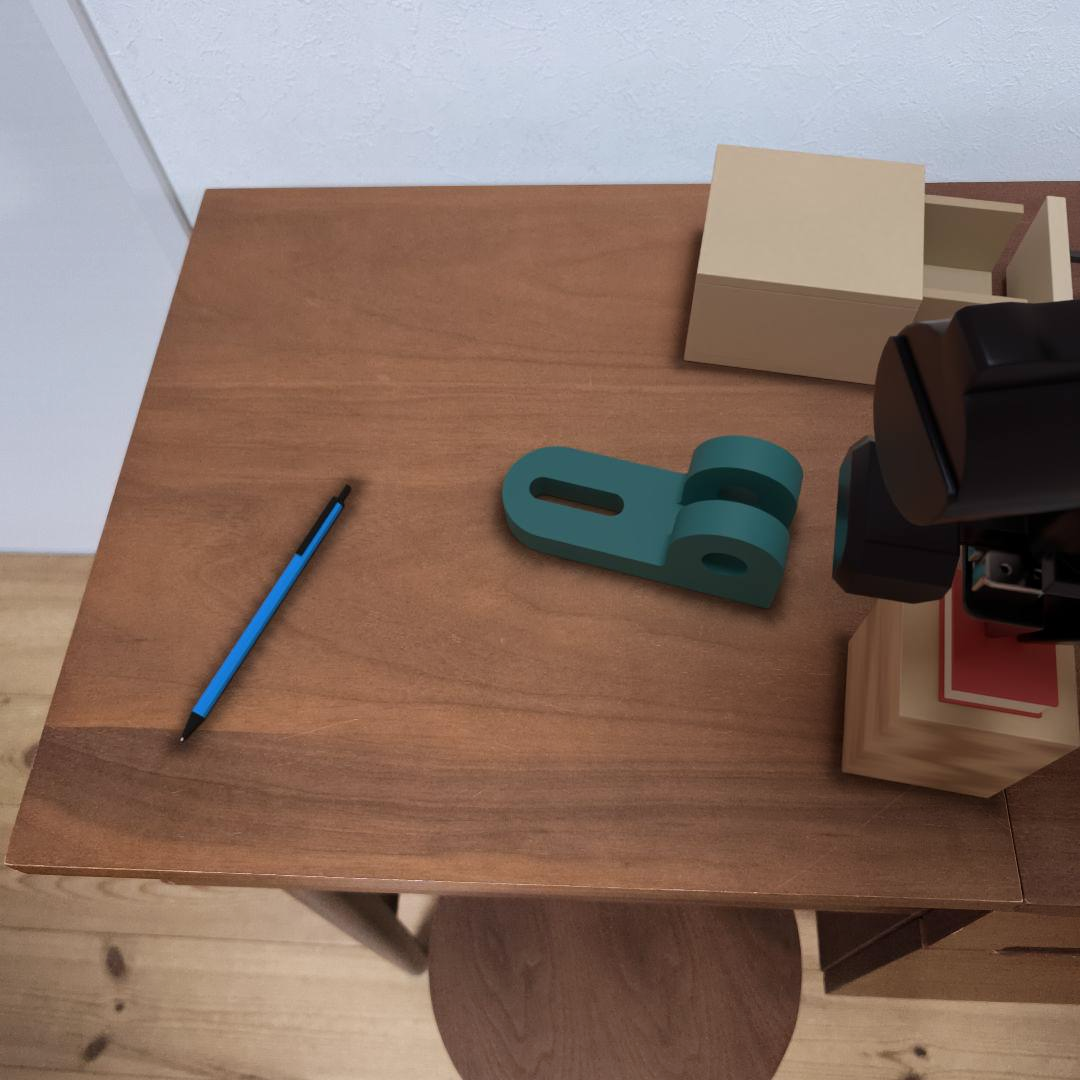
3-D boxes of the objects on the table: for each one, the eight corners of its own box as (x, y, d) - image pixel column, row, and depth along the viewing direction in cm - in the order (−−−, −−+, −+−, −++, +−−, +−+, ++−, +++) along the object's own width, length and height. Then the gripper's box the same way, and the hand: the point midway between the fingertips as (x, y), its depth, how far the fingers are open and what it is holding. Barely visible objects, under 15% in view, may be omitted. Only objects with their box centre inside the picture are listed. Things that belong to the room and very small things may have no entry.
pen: (355, 491, 63) (351, 483, 62) (190, 746, 56) (182, 740, 55) (344, 487, 64) (340, 478, 63) (178, 739, 56) (170, 734, 55)
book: (1034, 600, 46) (1052, 583, 44) (1039, 718, 43) (1059, 705, 42) (939, 585, 46) (953, 568, 45) (938, 701, 44) (953, 688, 42)
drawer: (1098, 279, 68) (1149, 205, 61) (1109, 399, 63) (1166, 332, 57) (845, 251, 70) (870, 176, 64) (837, 364, 65) (864, 296, 59)
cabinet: (887, 259, 71) (925, 164, 63) (882, 386, 65) (923, 299, 57) (702, 238, 72) (717, 143, 64) (683, 360, 67) (696, 272, 59)
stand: (985, 664, 56) (1071, 587, 46) (988, 798, 52) (1081, 746, 43) (848, 641, 57) (903, 562, 47) (841, 772, 53) (899, 715, 44)
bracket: (787, 516, 61) (814, 450, 54) (768, 609, 58) (794, 552, 51) (522, 454, 64) (514, 384, 57) (491, 540, 61) (479, 477, 54)
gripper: (1474, 285, 32) (1202, 510, 46) (904, 219, 34) (810, 452, 48) (1568, 582, 27) (1230, 733, 41) (893, 481, 29) (792, 656, 43)
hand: (1004, 629), depth 43 cm, fingers closed
